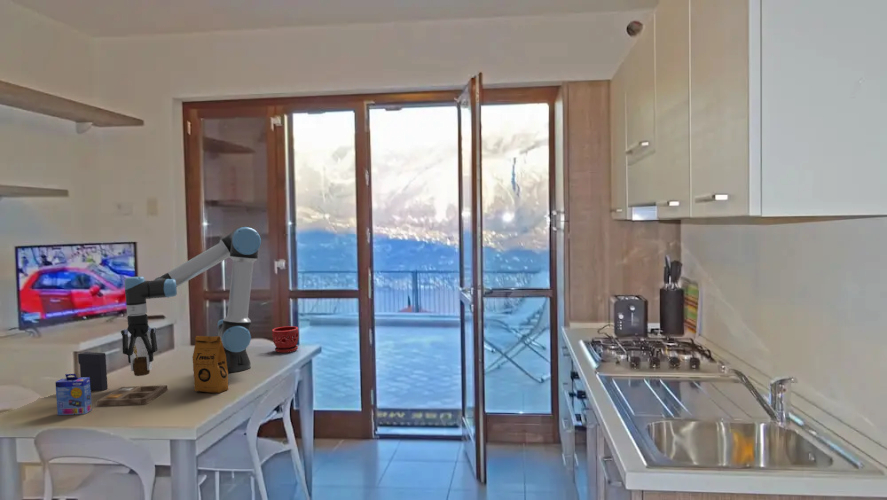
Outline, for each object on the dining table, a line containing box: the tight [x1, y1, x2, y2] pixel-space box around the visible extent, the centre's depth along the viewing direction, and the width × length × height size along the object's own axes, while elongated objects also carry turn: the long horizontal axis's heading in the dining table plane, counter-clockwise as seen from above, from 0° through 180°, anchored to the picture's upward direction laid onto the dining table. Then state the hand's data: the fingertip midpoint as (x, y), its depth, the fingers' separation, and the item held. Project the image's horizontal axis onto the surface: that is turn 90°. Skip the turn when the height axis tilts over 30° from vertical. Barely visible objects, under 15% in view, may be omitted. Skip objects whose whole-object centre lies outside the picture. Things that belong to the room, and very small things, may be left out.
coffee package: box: [192, 335, 229, 394], centre depth 258 cm, size 10×12×22 cm
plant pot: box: [271, 325, 300, 354], centre depth 335 cm, size 13×13×12 cm
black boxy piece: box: [77, 351, 109, 392], centre depth 267 cm, size 11×4×15 cm, turn 71°
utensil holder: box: [133, 345, 151, 377], centre depth 269 cm, size 6×6×12 cm
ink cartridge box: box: [54, 373, 93, 416], centre depth 233 cm, size 10×6×14 cm, turn 95°
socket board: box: [96, 384, 168, 407], centre depth 252 cm, size 18×20×2 cm
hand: (141, 369), depth 270 cm, fingers closed on utensil holder, 6 cm apart
